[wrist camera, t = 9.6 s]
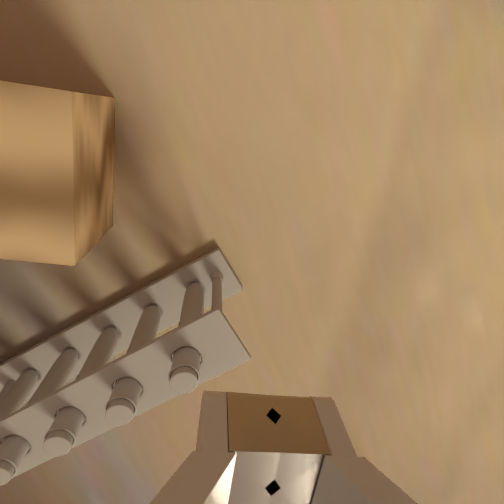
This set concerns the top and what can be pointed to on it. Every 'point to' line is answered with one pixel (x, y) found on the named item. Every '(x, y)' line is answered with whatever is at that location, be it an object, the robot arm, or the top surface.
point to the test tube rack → (117, 364)
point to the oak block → (54, 172)
